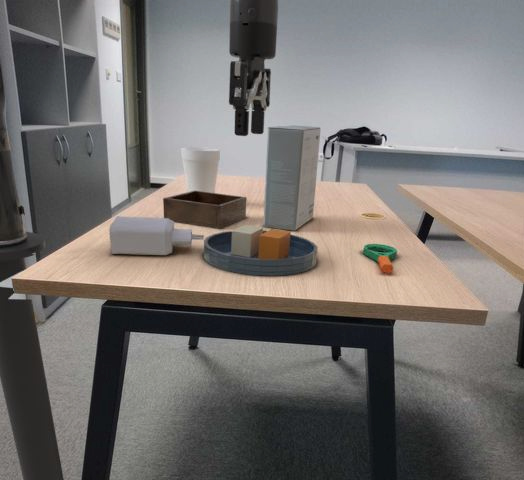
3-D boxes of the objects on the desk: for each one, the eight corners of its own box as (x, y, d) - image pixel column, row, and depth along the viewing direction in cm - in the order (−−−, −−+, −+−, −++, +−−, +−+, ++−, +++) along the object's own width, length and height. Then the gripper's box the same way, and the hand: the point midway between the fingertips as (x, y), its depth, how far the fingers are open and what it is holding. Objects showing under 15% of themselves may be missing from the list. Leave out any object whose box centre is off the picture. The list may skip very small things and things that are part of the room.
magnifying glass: (361, 248, 91) (363, 240, 90) (393, 251, 90) (395, 242, 89) (367, 272, 77) (369, 262, 76) (404, 276, 77) (406, 266, 76)
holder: (163, 220, 103) (162, 198, 100) (194, 210, 114) (194, 190, 112) (219, 228, 98) (220, 206, 96) (245, 217, 110) (246, 197, 108)
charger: (203, 258, 79) (111, 255, 77) (204, 244, 87) (120, 241, 85) (203, 230, 77) (108, 226, 75) (204, 218, 85) (118, 214, 83)
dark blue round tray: (182, 262, 76) (182, 247, 75) (232, 238, 92) (233, 225, 91) (295, 283, 70) (297, 267, 69) (328, 253, 86) (329, 239, 85)
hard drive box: (282, 214, 115) (289, 124, 106) (313, 218, 113) (322, 127, 104) (261, 227, 102) (267, 125, 93) (295, 231, 100) (304, 128, 91)
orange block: (258, 259, 78) (259, 235, 76) (269, 251, 83) (271, 228, 81) (277, 262, 77) (279, 238, 75) (288, 254, 82) (290, 231, 80)
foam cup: (186, 198, 127) (185, 146, 121) (220, 201, 127) (221, 148, 121) (179, 205, 118) (178, 149, 112) (216, 207, 118) (216, 151, 112)
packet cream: (231, 254, 80) (231, 230, 78) (244, 247, 84) (244, 224, 83) (249, 257, 79) (251, 233, 77) (262, 250, 83) (263, 227, 82)
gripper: (245, 29, 81) (242, 132, 89) (214, 13, 69) (213, 134, 77) (287, 29, 80) (281, 135, 87) (262, 14, 67) (257, 138, 75)
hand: (249, 134), depth 82 cm, fingers open, 8 cm apart
